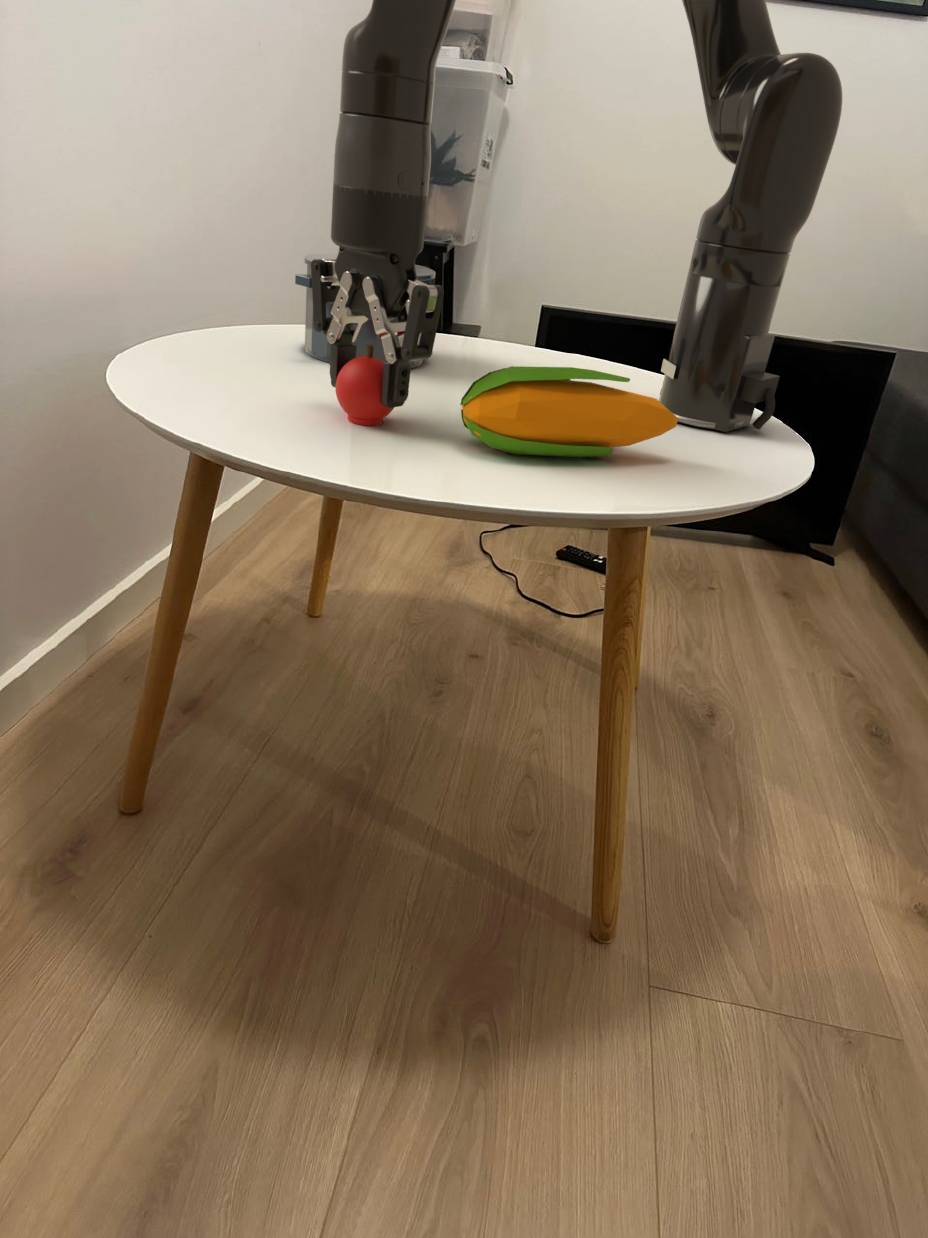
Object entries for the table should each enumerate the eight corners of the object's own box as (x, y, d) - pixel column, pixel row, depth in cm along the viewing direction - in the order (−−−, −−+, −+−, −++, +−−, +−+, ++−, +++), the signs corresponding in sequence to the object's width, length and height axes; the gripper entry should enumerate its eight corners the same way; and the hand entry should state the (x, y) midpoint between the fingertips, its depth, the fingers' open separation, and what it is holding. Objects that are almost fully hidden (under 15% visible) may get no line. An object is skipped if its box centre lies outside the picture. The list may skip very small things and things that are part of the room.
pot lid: (461, 285, 97) (466, 236, 94) (365, 287, 87) (368, 232, 84) (373, 263, 105) (376, 218, 102) (276, 263, 95) (277, 212, 92)
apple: (409, 424, 77) (416, 350, 74) (363, 433, 73) (368, 354, 70) (367, 408, 80) (372, 336, 77) (321, 415, 76) (324, 339, 73)
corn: (456, 346, 72) (668, 360, 77) (444, 432, 76) (647, 440, 81) (479, 374, 66) (707, 387, 71) (466, 466, 70) (683, 472, 75)
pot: (461, 362, 103) (471, 279, 98) (340, 376, 90) (345, 280, 85) (383, 338, 110) (389, 259, 106) (261, 347, 97) (262, 257, 93)
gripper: (480, 199, 66) (454, 413, 74) (356, 178, 74) (345, 373, 82) (411, 193, 61) (392, 423, 69) (286, 170, 69) (281, 380, 77)
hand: (366, 395), depth 75 cm, fingers open, 6 cm apart
